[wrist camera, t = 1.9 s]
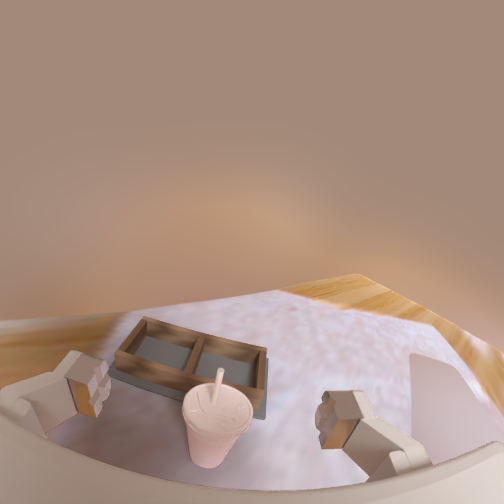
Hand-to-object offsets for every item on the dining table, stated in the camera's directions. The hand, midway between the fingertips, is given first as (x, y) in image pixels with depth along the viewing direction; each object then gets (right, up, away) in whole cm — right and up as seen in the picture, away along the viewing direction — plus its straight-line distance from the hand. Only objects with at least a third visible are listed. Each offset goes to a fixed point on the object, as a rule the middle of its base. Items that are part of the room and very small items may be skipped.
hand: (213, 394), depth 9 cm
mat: (-7, -12, +30) cm, 33 cm away
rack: (-7, -12, +30) cm, 33 cm away
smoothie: (-4, -18, +16) cm, 24 cm away
